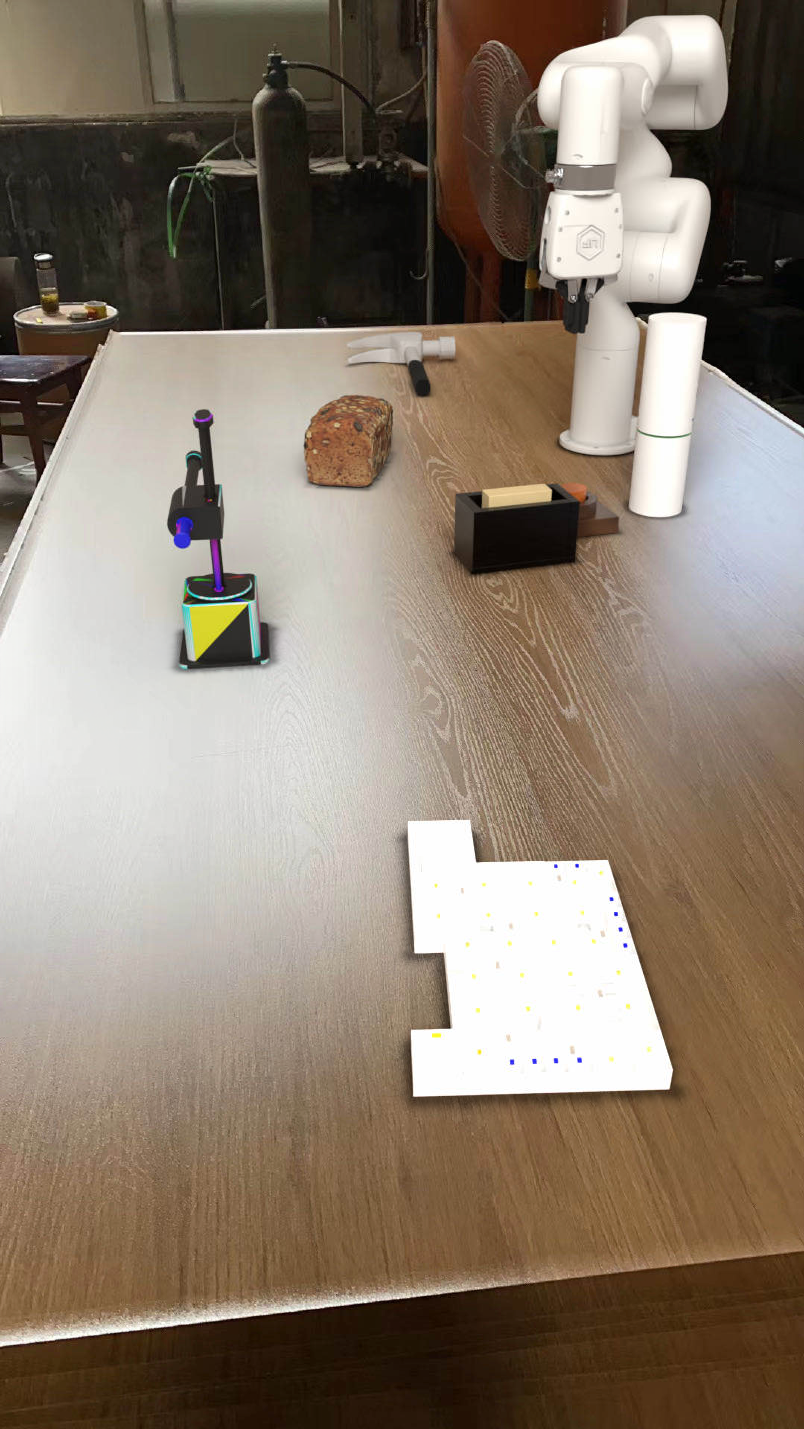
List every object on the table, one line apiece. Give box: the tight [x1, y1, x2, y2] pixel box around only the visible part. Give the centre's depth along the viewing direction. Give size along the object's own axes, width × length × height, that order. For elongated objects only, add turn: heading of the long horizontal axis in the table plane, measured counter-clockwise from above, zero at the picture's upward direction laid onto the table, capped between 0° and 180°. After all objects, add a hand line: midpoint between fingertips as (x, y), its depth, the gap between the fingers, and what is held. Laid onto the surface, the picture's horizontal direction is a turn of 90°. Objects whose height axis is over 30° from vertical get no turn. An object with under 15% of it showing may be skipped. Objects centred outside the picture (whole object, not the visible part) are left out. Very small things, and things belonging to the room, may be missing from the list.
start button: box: [559, 482, 588, 502], centre depth 142 cm, size 4×4×2 cm
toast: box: [481, 483, 552, 508], centre depth 132 cm, size 8×2×8 cm, turn 106°
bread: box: [303, 394, 394, 488], centre depth 163 cm, size 19×11×10 cm, turn 170°
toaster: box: [453, 482, 580, 575], centre depth 133 cm, size 13×7×8 cm, turn 106°
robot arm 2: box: [166, 408, 270, 670], centre depth 112 cm, size 25×9×24 cm, turn 7°
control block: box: [577, 491, 620, 538], centre depth 143 cm, size 10×8×4 cm
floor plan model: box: [407, 819, 674, 1098], centre depth 75 cm, size 15×25×2 cm, turn 2°
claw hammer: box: [347, 331, 457, 397], centre depth 213 cm, size 6×22×30 cm
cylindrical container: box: [628, 312, 708, 518], centre depth 143 cm, size 7×7×25 cm
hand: (574, 331), depth 146 cm, fingers closed
